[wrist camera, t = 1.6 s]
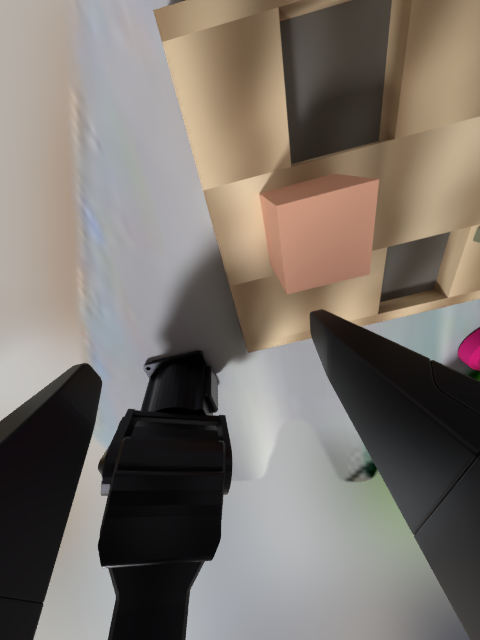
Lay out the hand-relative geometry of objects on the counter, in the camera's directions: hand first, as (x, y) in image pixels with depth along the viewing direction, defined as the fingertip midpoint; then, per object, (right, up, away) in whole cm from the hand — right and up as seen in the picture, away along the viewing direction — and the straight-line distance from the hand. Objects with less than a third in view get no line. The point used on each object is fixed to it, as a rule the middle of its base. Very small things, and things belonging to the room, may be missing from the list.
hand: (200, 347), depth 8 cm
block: (+6, +8, +9) cm, 13 cm away
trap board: (+11, +10, +10) cm, 18 cm away
